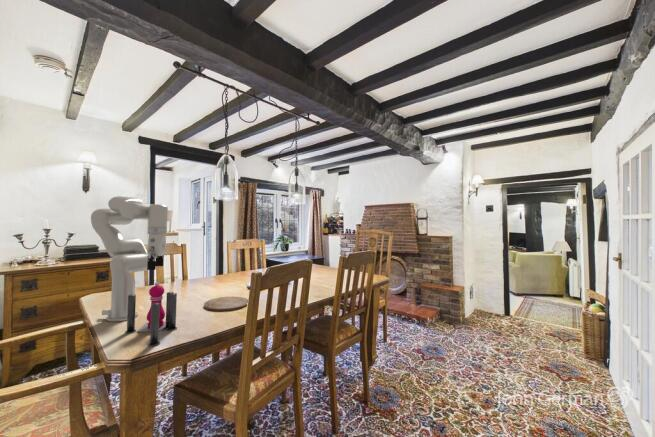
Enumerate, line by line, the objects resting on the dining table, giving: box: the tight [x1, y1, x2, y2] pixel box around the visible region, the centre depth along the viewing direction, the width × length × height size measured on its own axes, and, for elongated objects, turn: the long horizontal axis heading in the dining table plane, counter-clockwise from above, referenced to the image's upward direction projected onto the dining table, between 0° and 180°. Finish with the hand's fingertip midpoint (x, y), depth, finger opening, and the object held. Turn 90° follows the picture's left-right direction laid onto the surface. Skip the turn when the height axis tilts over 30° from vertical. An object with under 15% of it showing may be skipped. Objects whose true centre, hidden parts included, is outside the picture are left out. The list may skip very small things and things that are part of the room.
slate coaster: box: [136, 321, 166, 333], centre depth 125 cm, size 10×10×1 cm
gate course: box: [124, 291, 178, 347], centre depth 115 cm, size 20×22×16 cm
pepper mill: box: [146, 281, 166, 328], centre depth 125 cm, size 7×7×20 cm
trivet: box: [203, 296, 249, 312], centre depth 161 cm, size 25×25×2 cm
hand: (155, 267), depth 125 cm, fingers open, 9 cm apart
